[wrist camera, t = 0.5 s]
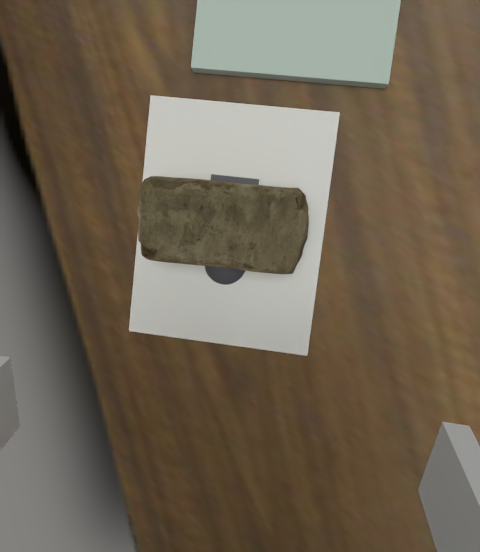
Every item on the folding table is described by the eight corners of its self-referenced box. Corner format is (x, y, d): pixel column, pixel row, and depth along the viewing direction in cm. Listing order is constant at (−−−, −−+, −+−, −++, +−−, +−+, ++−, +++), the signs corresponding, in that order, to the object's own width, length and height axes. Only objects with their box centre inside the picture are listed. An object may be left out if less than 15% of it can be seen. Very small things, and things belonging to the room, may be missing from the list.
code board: (307, 354, 34) (307, 356, 33) (130, 330, 35) (128, 331, 35) (339, 113, 32) (339, 112, 32) (151, 96, 33) (150, 94, 33)
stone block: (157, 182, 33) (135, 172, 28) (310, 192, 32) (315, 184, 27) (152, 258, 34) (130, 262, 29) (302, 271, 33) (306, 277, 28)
